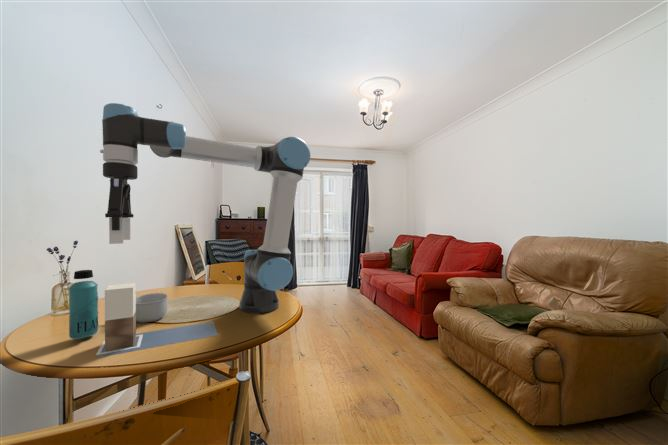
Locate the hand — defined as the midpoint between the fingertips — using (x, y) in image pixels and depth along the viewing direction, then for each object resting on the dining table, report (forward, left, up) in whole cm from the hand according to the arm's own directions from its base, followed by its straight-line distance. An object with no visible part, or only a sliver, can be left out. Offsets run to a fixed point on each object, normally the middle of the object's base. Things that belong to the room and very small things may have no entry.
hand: (120, 241), depth 76 cm
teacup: (-4, -20, -29) cm, 35 cm away
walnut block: (0, 0, -28) cm, 28 cm away
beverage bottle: (+10, -10, -29) cm, 32 cm away
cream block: (0, 0, -20) cm, 20 cm away
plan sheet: (-10, 0, -29) cm, 30 cm away
